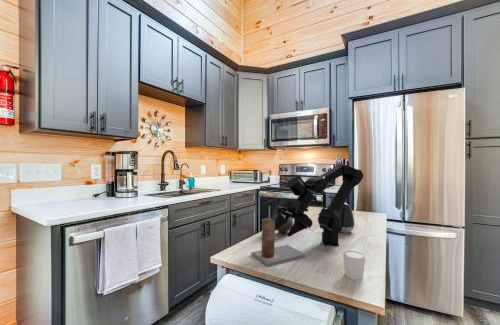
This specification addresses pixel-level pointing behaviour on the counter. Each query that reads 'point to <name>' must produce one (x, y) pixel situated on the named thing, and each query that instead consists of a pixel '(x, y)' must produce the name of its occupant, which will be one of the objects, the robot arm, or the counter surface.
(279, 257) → the slate board
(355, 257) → the white cup
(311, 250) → the counter surface
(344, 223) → the dark grey tapered dome
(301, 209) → the robot arm
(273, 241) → the walnut roller
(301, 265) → the counter surface
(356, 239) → the counter surface
